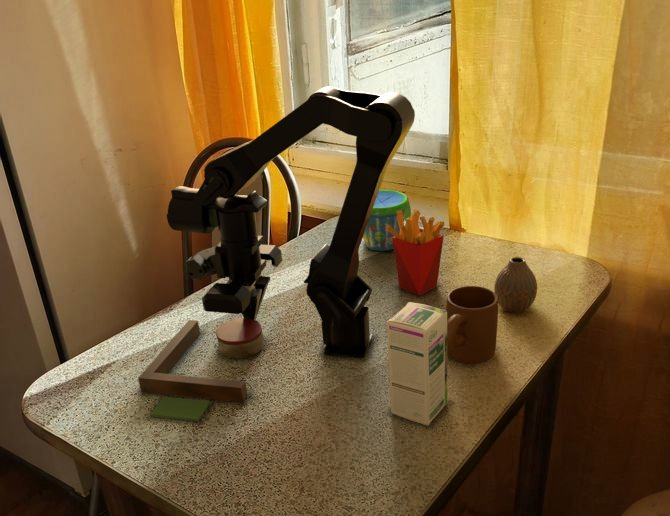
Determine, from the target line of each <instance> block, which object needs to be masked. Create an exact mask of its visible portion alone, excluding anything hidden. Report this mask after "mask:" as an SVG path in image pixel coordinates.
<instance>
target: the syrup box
mask: <svg viewBox="0 0 670 516" xmlns="http://www.w3.org/2000/svg"><path fill="white" fill-rule="evenodd" d="M386 334H387V335H386V336H387V355H388V356H387V359H388V360H387V361H388V377H389V398H390V400H389V401H390V412H391V414H392V415H396V416H398V417H400V418H403V419H406V420H409V421H412V422H414V423H418V424H421V425H424V426H426V427H427V426H429V425H430V424H431V422H432V421H433V420H434V419H435V418H436V417H437V416H438V415H439V413H440V412H441V411H442V410H443V409H444V407H445V406H446V405H447V404H448V353H447V311H446V309H443V308H439V307H436V306H433V305H428V304H423V303H418V302H412V301H408V302H407V303H406V305H405V306H404V307H402V308H401V309H400V310H399V311H397V312H396V313H395V314H393V315H392V316H391V317H390V318H389V319H388V320H387V321H386Z"/></svg>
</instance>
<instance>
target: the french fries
mask: <svg viewBox="0 0 670 516" xmlns="http://www.w3.org/2000/svg"><path fill="white" fill-rule="evenodd" d="M420 215H421V212H420V210H418V209H414V210H413V212H412V213H411V217H410V218H407V219H404V222H403V212H402V210H399V211H397V219H398V224H399V227H400V234H398V233H397V232H396V231H395V230H393V229H392V228H391V226H390V225H388V224H387V225H386V227H385V228H386V229H387V230H388V231H389V232H390V233H392V234H393V235H394V236H395V237H393V238H392V241H393V248H394V249H393V254H394V261H395V268H396V275H397V281H398V288H399V289H402V290H405V291H407V292H409V293H412V294H415V295H417V296H422V295H423V294H425V293H427V292H429V291H431V290H432V289H434V288H436V287H437V286H438V281H439V273H440V267H441V266H440V265H441V259H442V253H443V244H444V235H443V234H440V233H441V231H442V229H443V228H444V226H445V221H442V220H441V221H437V222H436V223H434V222H435V217H434V216H432V217H429V219H428V222H427V219H426V217H425V215H422V216H420ZM419 222H421V225H422V227H423V228H420V223H419Z"/></svg>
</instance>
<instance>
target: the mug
mask: <svg viewBox="0 0 670 516" xmlns="http://www.w3.org/2000/svg"><path fill="white" fill-rule="evenodd" d="M445 301H446V302H445V311H447V356H449V357H450V358H451V359H453V360H454V361H456V362H459V363H462V364H472V365H473V364H481V363H484V362H486V361H489V360H490V359H492V357H493V356H494V355H495V352H496V348H497V335H498V321H499V304H498V297H497V295H496V294H495V291H493V290H492V289H490V288H487V287H484V286H480V285H479V286H478V285H462V286H459V287H455V288H452V289H451V290H450V291H449V292H448V293H447V295H446V300H445Z"/></svg>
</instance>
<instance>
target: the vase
mask: <svg viewBox="0 0 670 516" xmlns="http://www.w3.org/2000/svg"><path fill="white" fill-rule="evenodd" d="M493 290H494V291H493V292H494V293H495V294H496V295H497V297H498V306H499V307H501V309H503V310H504V311H506V312H509V313H514V314H515V313H523V312H525V311H526V310H528V309H529V308H531V306H532V305H533V304H534V302H535V300H536V297H537V293H538V282H537V278H536V275H535V274H534V272H533V271H532V269H531V268H530V267H529V265H528V263H527V261H526V259H525V258H523V257H520V256H519V257H518V256H515V257H511V258H510V259H509V261H508V263H507V264H506V265H504V267H503V268H501V270H500V271H499V273H498V274H497V276H496V278H495V281H494V289H493Z"/></svg>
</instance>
